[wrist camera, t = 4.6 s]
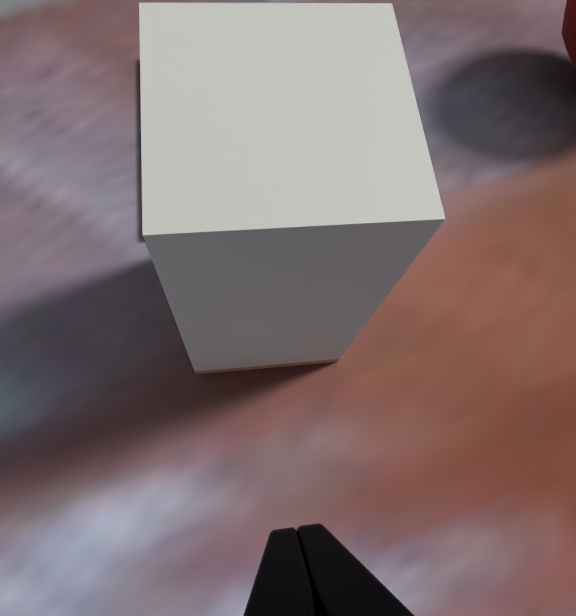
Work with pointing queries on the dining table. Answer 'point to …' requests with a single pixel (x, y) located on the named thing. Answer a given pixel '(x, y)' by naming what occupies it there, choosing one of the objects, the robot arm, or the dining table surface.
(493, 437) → the dining table surface
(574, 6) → the onion
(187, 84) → the block
